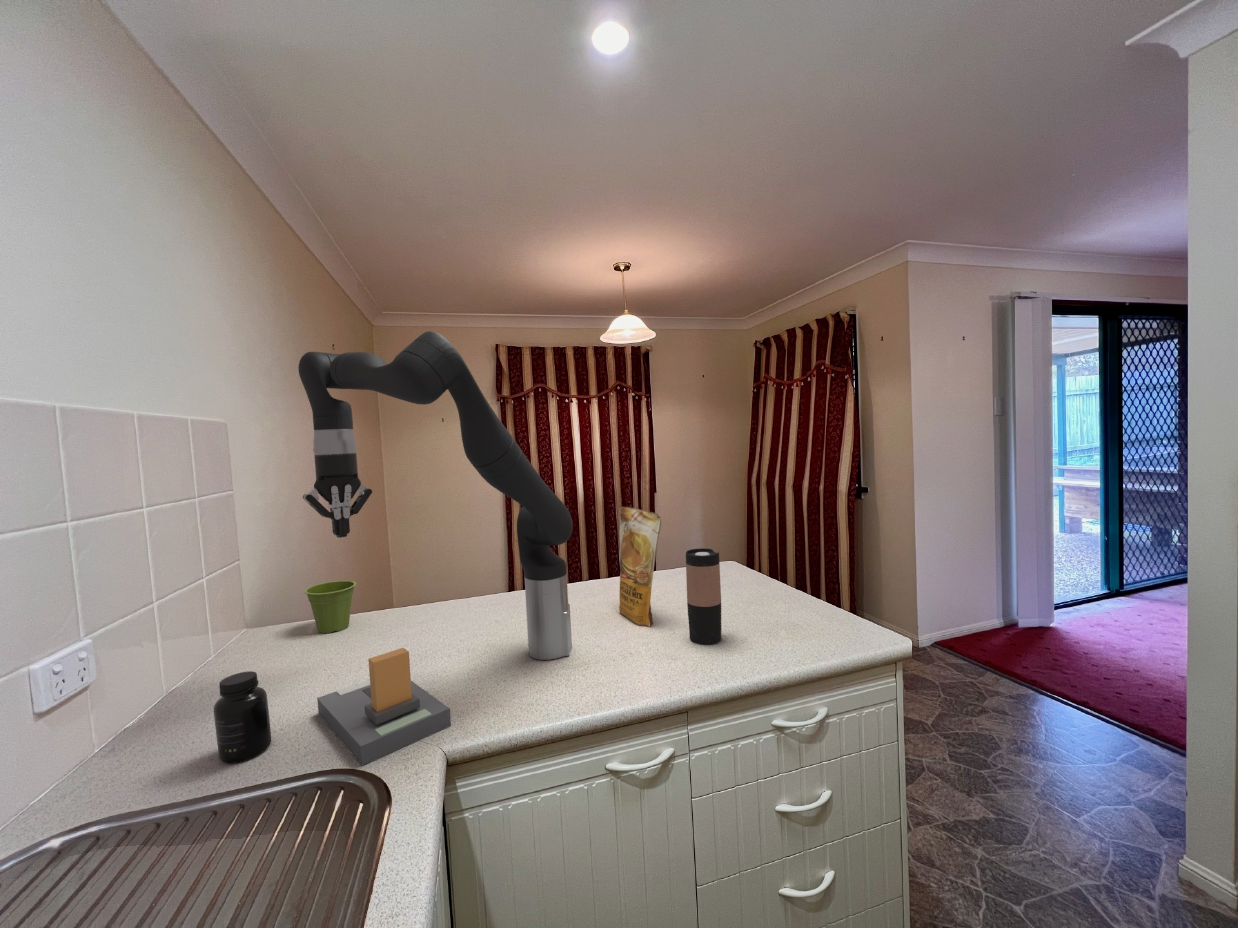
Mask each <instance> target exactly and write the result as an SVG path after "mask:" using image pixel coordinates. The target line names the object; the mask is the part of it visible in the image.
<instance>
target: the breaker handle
mask: <svg viewBox="0 0 1238 928" xmlns="http://www.w3.org/2000/svg"><path fill="white" fill-rule="evenodd" d="M367 662H368V672H369V673H368V674H369V679H370V689H371V702H372V703H371V704H368V705H365V715H367V716H368V717H369V718H370V719H371V720H372V721H373V722H374V723H375V724H376V725H378V724H381V723H383V722H385V721H388V720H390V719H393V718H395V717H398V716H400V715H402V714H405V713H407V712H410V711H412V710H415V709H417V708H420V699H419V698H417V697H416V696H415V695H413V694H412V690H411V681H412V679H411V678H412V677H411V666H410V665H411V664H410V663H411V662H410V651H409V650H407V649H406V648H404V647H401V648H397V649H394V650H392V651H388V652H385V653H383V654H379V655H376V656H372V657H369V658H368V661H367Z"/></svg>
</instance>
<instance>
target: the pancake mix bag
mask: <svg viewBox="0 0 1238 928" xmlns="http://www.w3.org/2000/svg"><path fill="white" fill-rule="evenodd" d="M617 511H618V518H619V522H618V523H619V525H618V526H619V527H618V528H619V530H618V531H619V537H618V538H619V541H618V542H619V550H618V551H619V553H618V554H619V569H620V570H619V595H618V596H619V606H618V609H619V613H620V614H621V615H622V616H624V618H626V619H628V620H629V621H630V622H632V623H634V624H635V625H636V626H638V627H652V625H653V624H654V622H653V614H652V606H651V604H652V603H651V599H652V597H651V596H652V586H653V579H654V572H655V571H654V570H655V562H656V559H657V550H658V543H659V542H658V541H659V537H660V534H661V529H662V527H661V526H662V518H661V516H660V515H659V514H657V513H656V512H652V511H647V510H643V509H640V508H639V509H638V508H636V507H630V506H628V507H627V506H621V507H619V508H618V509H617Z"/></svg>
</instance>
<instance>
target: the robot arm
mask: <svg viewBox="0 0 1238 928" xmlns="http://www.w3.org/2000/svg"><path fill="white" fill-rule="evenodd" d="M297 369H298V375H299V378H300V381H301V383H302V386H303V388H304V390H305V394H306V395H307V399H308V401H309V405H310V409H311V410H312V411H311V413H312V423H313V449H312V451H313V455H314V468H315V482H314V484H313V488H312V490H310V491H309V492H308V493H304V494H303V495H302V499H303V500H304V501H305V502H306V503H307V504H308V505H309V506H310V507H311V508H312V509H314V511H316V512H317V513H318V514H319V515H320V516H321V517H322V518H323V517H324V518H328V519H330V520H331V528H332V534H333V535H334V536H335V537H336V538H339V539H341V538H346V537H348V534H350V532H351V528H350V526H351V525H350V518H351V517H352V516H354V515H357V514H358V513H360V511H361V509H362V508H363V506H364V505H365V504H366V502H367V501H368V500H369V498H370V497H371V495H372V494H373V490H372V489H371V488H367V487H366V486H364V485H362V481H361V479H360V478H359V472H358V471H359V470H358V458H357V457H358V456H357V445H356V443H357V442H356V437H355V433H354V422H353V421H354V420H353V411H352V410H353V409H352V405H351V404H350V403H349V402H348V401H345V400H342V399H338V398H335V397H333V396H332V395H331V394H330V393H329V391H328V389H334V390H335V389H336V390H358V391H361V390H362V391H363V390H364V391H365V390H366V391H373V392H375V393H376V392H377V393H380V394H382V395H386V396H388V397H392V398H395V399H398V400H401V401H404V402H408V403H412V404H417V405H422V406H423V405H430V404H432V403H434V402H435V401H437V400H439V398H440V397H441V396H442V395H443V394H444V393H445V392H446V391H448V392H449V394H450V396H451V398H452V399H453V401H454V403H455V406H456V409H457V412H458V416H459V418H458V419H459V426H460V433H461V435H460V436H461V441H462V446H463V450H464V451H463V452H464V454H465V456H466V459H467V460H468V461H469V462H470V464H471V465H472V467H474V469H475V470H476V471H477V472H478V474H479V475H480V476H481V478H482V479H483V480H484V481H486V483H487V484H489V485H490V486H491V487H493V488H494V489H495V490H497V491H499V492H500V493H502V494H503V495H505V496H507V497H508V498H509V499H512V500H513V501H515V502H516V503H518V504H519V505H521V508H520V510H519V512H518V515H517V519H516V520H517V521H516V535H517V544H518V553H519V562H520V564H521V565H520V566H521V567H522V569H523V574H524V575H523V576H524V586H525V587H524V590H525V591H524V592H525V609H526V610H525V613H526V629H527V646H528V648H527V649H528V655H529V657H531V658H532V659H535V660H540V661H544V660H546V661H548V660H549V661H550V660H555V659H559V658H563V657H569V656H570V653H571V650H572V646H573V642H572V641H573V639H572V636H573V635H572V621H571V604H569V595H568V594H569V592H568V590H569V589H568V571H567V563H566V561H565V560H564V559H563V558H562V557H561V556H558V555H557V554H556V553H555V552H554V551H553V550H552V548H551V547H550V546H560V545H563V544H565V543H566V542H568V541H569V540H570V538H571V537H572V535H573V529H574V527H573V526H574V524H573V518H572V516H571V513H570V511H569V509H568V507H567V506H566V505H565V504H564V503H563V501H562V500H561V499H560V497H558V496H557V495H556V494H555V493H554V492H553V490H552V489H551V488H550V487H549V485H548V484H547V483H546V482H545V481H544V480H543V478H542V477H541V476H540V474H539V473H538V471H537V470H536V469H535V467H534V466H533V465H532V464H531V462H530V461H529V459H528V457H527V456H526V455H525V453H524V452H523V450H522V448H521V447H520V446H519V444H518V443H517V441H516V440H515V438H514V437H513V435H512V434H511V433H510V432H509V430H508V429H507V428H506V427H505V425H504V424H503V423H502V421H501V420H500V418H499V417H498V415H497V413H496V412H495V411H494V409H493V408H492V406H491V404H490V403H489V402H488V400H487V398H486V397H485V395H484V392H482V390H481V389H480V387H479V384H478V383H477V381H476V379H475V378H474V375H473V374H472V371H471V370H470V368H469V367H468V365H467V363H466V362H465V360H464V359H463V357H462V356H461V353H460V352H459V351H458V349H457V348H456V347H455V346H454V345H453V343H451V342H450V341H449V340H448V339H447V338H446V337H445V336H444V335H442V334H441V333H438V332H435V331H433V330H432V331H430V330H428V331H425V332H423V333H421V334H420V335H418V337H416V338H415V339H414V340H413V341H412V342H410V343H409V344H408V345H407V346H406V347H405V348H404V349H403V350H401V351H400V352H399V353H398V354H397V355H396V356H395V357H394V359H393V360H392V361H390V362H389V363H386V362H385V360H384V359H383V358H382V357H381V356H379V355H377V354H375V353H372V352H367V351H353V352H350V351H349V352H343V353H332V352H331V353H330V352H320V351H308V352H306V353H304V354H303V355H302V356H301V358H300V360H299V361H298V367H297ZM356 493H357V497H356V498H355V500H354V501H353V503H351V502H352V499H353V498H354V496H355V495H356ZM318 494H319V495H318ZM320 497H321V498H322V499H323V500H324V501H326V502H327V505H328V508H329V510H328V509H327V508H326V507H325V506H324V505H323V504H322V503H321V502H320V501H319V500H320Z"/></svg>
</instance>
